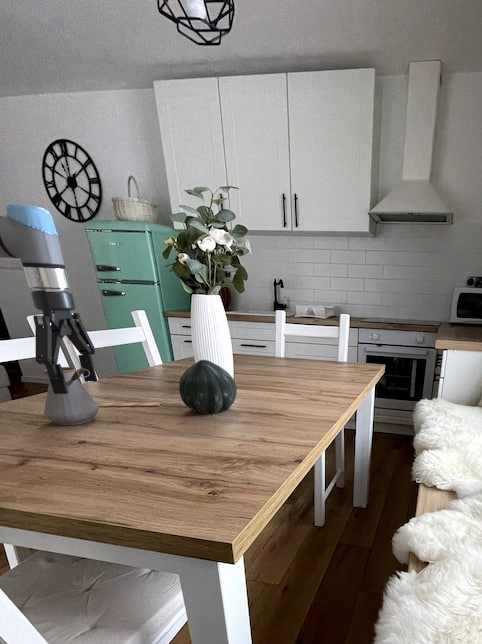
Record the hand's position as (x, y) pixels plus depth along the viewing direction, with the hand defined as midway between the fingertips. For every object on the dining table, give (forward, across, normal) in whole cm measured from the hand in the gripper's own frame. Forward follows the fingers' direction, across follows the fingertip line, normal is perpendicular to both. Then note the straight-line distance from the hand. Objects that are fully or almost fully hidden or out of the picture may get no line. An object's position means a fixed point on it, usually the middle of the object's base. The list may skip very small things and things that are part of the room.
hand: (77, 387), depth 96 cm
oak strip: (+9, -16, 0) cm, 18 cm away
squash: (+9, -10, +28) cm, 31 cm away
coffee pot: (+9, +2, 0) cm, 9 cm away
